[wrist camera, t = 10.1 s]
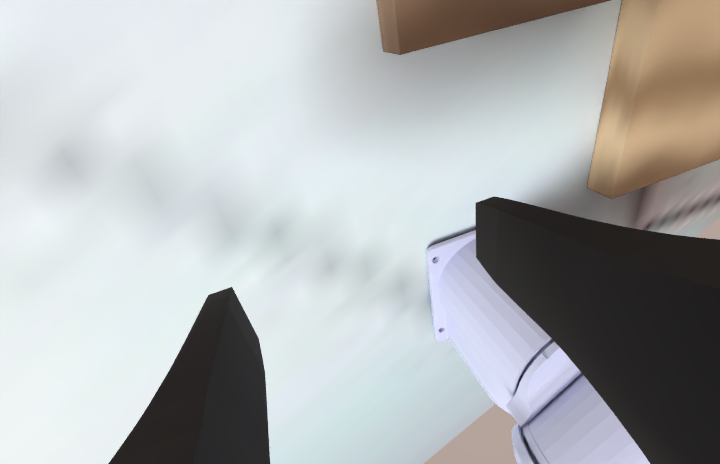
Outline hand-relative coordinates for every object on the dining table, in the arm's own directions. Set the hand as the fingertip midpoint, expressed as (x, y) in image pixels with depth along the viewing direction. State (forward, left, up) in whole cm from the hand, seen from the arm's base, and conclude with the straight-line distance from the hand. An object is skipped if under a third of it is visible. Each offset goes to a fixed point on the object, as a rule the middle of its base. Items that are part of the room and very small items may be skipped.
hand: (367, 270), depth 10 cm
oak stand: (-2, -25, -10) cm, 27 cm away
